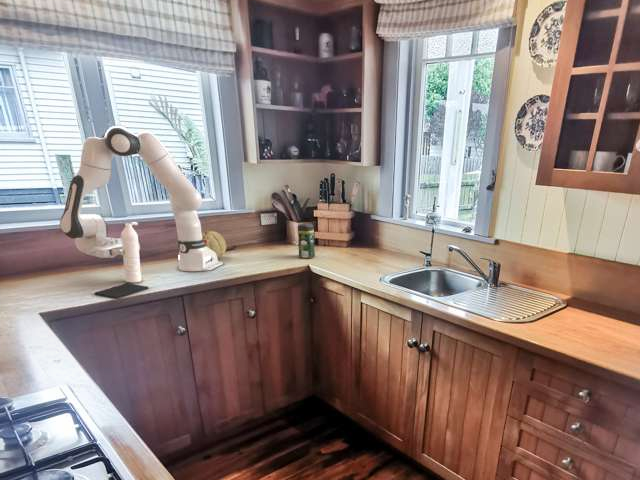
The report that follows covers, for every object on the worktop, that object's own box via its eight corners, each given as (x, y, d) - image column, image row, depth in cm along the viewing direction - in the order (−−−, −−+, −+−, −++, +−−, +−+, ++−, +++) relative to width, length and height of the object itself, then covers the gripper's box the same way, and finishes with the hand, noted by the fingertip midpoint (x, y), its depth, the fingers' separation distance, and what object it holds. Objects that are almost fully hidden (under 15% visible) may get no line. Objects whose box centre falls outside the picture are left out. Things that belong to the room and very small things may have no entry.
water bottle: (135, 283, 204) (130, 225, 195) (121, 281, 204) (116, 223, 195) (147, 279, 212) (143, 223, 203) (133, 277, 213) (129, 221, 203)
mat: (127, 284, 203) (127, 283, 202) (148, 288, 199) (148, 286, 198) (95, 294, 189) (94, 292, 189) (116, 298, 185) (116, 296, 185)
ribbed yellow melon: (231, 256, 256) (228, 229, 250) (221, 262, 243) (218, 233, 237) (204, 255, 257) (201, 227, 251) (193, 261, 243) (190, 232, 237)
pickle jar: (303, 254, 266) (302, 221, 258) (316, 255, 264) (315, 222, 256) (296, 258, 258) (295, 223, 250) (309, 259, 256) (308, 225, 248)
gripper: (84, 244, 197) (108, 248, 192) (124, 236, 214) (147, 239, 209) (88, 259, 199) (111, 263, 195) (127, 250, 217) (150, 253, 212)
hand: (130, 251), depth 202 cm, fingers closed on water bottle, 6 cm apart
